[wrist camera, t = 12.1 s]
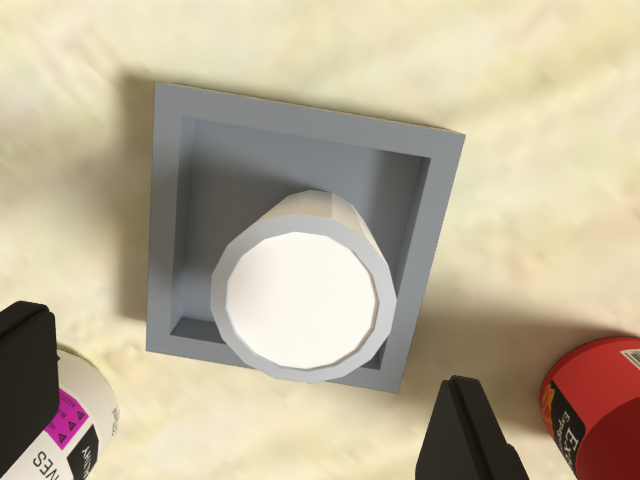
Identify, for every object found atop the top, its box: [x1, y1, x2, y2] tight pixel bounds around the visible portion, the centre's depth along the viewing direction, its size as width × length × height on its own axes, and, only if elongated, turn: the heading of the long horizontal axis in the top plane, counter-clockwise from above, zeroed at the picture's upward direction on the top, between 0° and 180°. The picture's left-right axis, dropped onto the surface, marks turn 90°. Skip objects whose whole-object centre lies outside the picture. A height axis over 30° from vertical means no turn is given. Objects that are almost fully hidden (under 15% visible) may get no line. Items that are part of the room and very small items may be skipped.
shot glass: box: [210, 190, 397, 383], centre depth 19 cm, size 7×7×7 cm
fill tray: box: [146, 82, 466, 393], centre depth 22 cm, size 13×13×2 cm
